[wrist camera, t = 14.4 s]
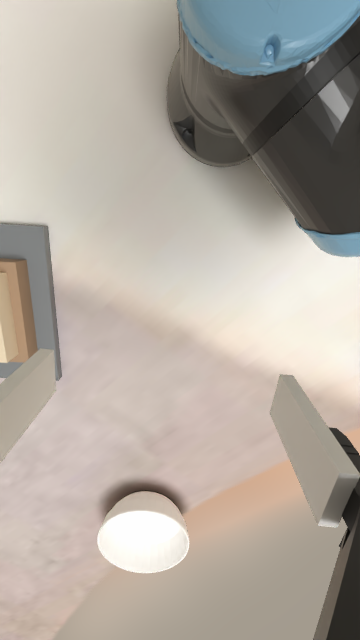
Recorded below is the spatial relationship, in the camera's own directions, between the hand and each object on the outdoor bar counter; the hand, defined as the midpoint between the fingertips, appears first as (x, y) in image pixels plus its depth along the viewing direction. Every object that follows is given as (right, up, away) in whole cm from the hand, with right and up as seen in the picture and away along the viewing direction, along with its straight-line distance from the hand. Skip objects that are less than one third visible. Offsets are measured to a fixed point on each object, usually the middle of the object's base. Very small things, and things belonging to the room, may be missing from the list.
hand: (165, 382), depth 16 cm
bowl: (-6, -38, +46) cm, 60 cm away
